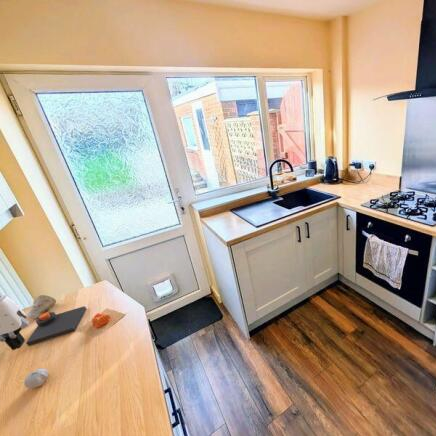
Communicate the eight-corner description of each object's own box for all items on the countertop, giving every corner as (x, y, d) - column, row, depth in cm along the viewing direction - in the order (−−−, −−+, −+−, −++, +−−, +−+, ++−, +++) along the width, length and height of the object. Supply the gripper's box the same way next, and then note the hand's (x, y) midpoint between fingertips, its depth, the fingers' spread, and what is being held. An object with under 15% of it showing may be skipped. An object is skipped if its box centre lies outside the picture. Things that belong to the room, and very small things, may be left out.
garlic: (55, 377, 80) (47, 366, 78) (35, 394, 75) (26, 383, 73) (45, 372, 82) (36, 361, 80) (24, 388, 77) (15, 378, 75)
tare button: (39, 322, 99) (37, 318, 99) (43, 316, 102) (41, 313, 101) (48, 319, 100) (46, 316, 100) (52, 314, 103) (49, 311, 102)
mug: (23, 323, 104) (19, 300, 105) (51, 315, 114) (47, 293, 115) (35, 320, 103) (31, 297, 103) (62, 312, 112) (58, 290, 113)
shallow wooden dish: (107, 308, 107) (103, 301, 105) (125, 314, 103) (121, 306, 101) (77, 330, 97) (72, 322, 96) (96, 338, 93) (91, 330, 91)
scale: (26, 346, 93) (21, 340, 91) (44, 321, 104) (40, 315, 103) (75, 331, 97) (70, 325, 96) (87, 308, 109) (83, 302, 107)
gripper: (-68, 320, 63) (-21, 366, 70) (6, 299, 67) (43, 345, 75) (-44, 301, 69) (-4, 345, 77) (22, 283, 73) (54, 327, 81)
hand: (19, 345), depth 76 cm, fingers closed
